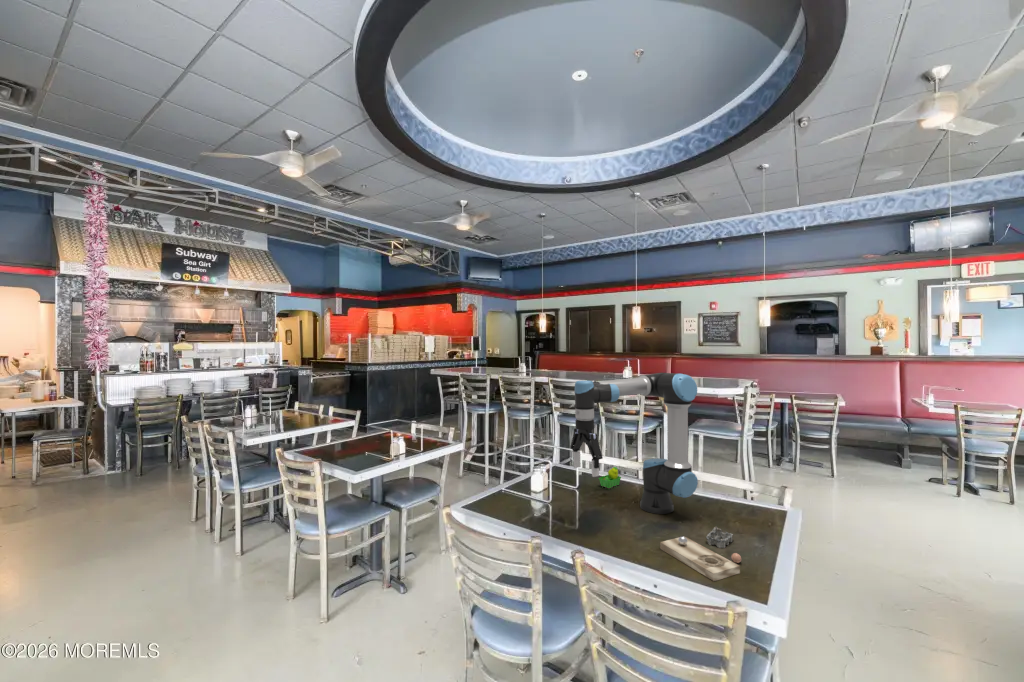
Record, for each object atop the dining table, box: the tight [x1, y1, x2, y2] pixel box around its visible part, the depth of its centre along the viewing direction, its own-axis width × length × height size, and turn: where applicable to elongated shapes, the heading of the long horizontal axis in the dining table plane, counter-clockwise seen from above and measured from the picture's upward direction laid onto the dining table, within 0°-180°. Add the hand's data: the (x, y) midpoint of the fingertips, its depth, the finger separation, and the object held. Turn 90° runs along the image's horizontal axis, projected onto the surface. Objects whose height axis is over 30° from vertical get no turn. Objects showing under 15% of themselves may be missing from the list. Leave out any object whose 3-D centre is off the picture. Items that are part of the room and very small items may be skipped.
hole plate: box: [659, 536, 741, 582], centre depth 155 cm, size 12×25×2 cm, turn 23°
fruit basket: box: [598, 466, 622, 489], centre depth 237 cm, size 11×9×11 cm
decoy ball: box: [730, 552, 742, 564], centre depth 153 cm, size 3×3×3 cm
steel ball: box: [678, 535, 687, 546], centre depth 162 cm, size 3×3×3 cm
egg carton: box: [705, 525, 734, 549], centre depth 169 cm, size 11×8×4 cm
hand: (586, 471), depth 174 cm, fingers open, 13 cm apart
